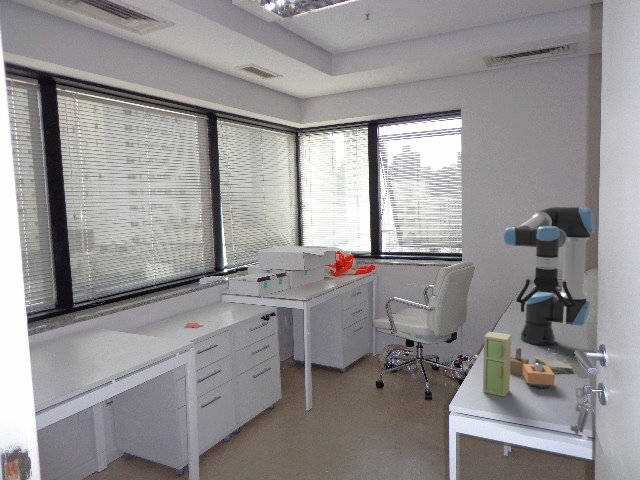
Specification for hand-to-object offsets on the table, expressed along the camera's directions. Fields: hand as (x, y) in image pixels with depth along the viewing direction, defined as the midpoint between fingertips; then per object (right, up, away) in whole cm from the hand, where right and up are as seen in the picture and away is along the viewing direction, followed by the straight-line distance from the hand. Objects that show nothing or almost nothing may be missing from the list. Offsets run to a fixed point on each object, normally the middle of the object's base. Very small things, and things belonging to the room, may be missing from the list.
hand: (544, 322), depth 177 cm
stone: (+10, -22, +14) cm, 27 cm away
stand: (-6, -22, +10) cm, 24 cm away
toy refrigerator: (-22, -24, -9) cm, 34 cm away
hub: (-4, -23, -3) cm, 23 cm away
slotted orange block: (-4, -21, -3) cm, 22 cm away
